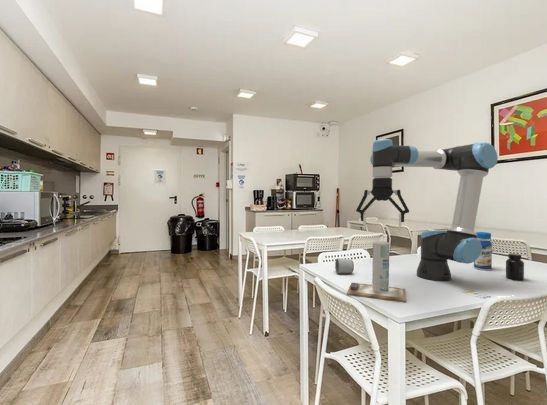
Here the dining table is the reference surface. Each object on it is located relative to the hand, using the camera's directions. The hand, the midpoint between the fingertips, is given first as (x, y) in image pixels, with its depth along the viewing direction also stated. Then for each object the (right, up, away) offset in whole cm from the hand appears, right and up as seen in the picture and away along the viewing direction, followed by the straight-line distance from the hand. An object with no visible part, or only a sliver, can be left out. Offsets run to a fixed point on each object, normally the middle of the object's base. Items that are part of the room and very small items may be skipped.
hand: (381, 229), depth 121 cm
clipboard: (-2, -26, +1) cm, 26 cm away
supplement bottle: (+72, -26, +22) cm, 80 cm away
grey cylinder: (-8, -26, +33) cm, 42 cm away
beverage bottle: (+70, -26, +41) cm, 85 cm away
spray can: (0, -25, +1) cm, 25 cm away
